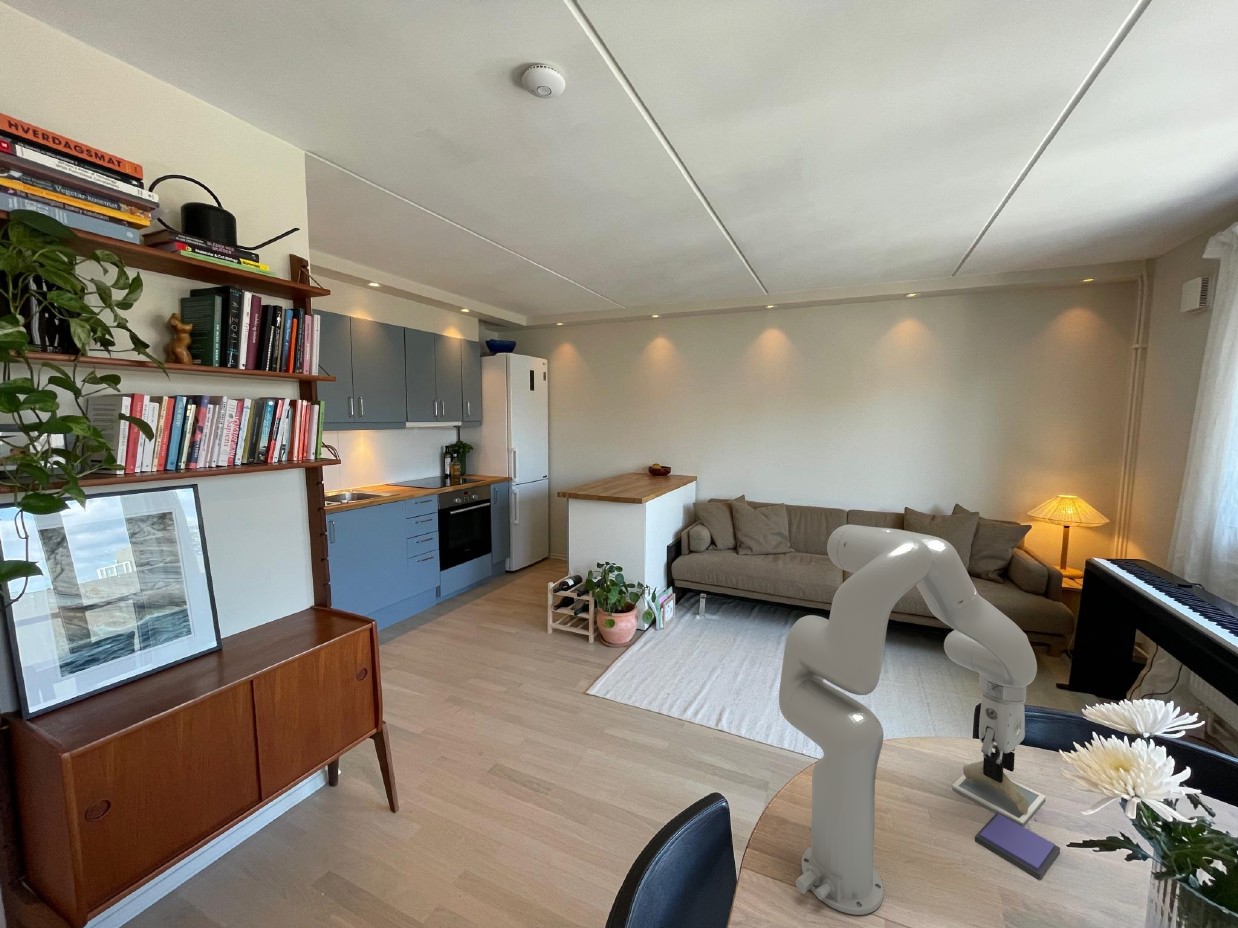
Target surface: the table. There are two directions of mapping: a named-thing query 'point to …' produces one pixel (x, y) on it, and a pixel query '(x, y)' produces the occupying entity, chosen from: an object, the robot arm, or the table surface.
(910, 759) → the table surface
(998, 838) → the ink pad
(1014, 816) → the white framed grey panel
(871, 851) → the robot arm
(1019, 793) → the beige curved piece
